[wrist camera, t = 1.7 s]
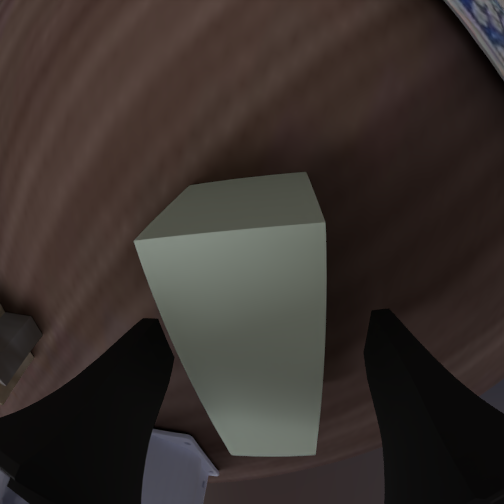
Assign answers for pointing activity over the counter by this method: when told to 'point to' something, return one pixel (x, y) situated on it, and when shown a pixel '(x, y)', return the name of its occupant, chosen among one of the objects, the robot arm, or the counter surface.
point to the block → (246, 305)
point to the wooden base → (15, 349)
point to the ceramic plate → (484, 26)
